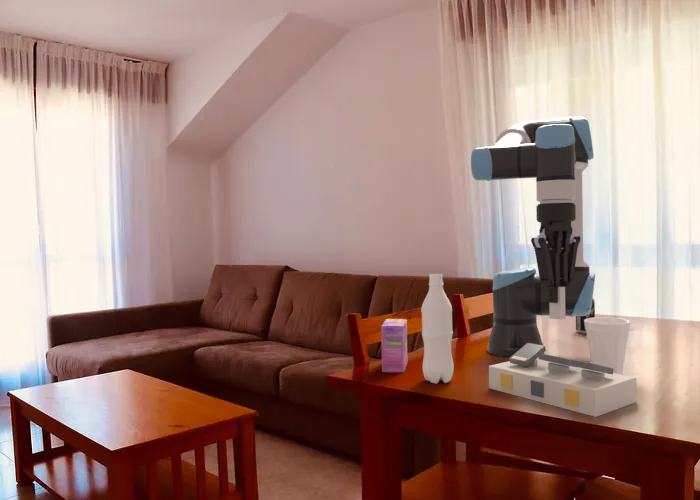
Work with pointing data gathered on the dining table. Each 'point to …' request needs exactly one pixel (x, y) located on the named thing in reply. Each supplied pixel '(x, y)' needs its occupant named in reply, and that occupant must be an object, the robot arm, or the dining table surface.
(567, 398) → the console
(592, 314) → the beverage can
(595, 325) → the cup
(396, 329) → the box
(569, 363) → the switch
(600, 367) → the switch
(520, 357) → the switch
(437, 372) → the water bottle
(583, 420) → the dining table surface
